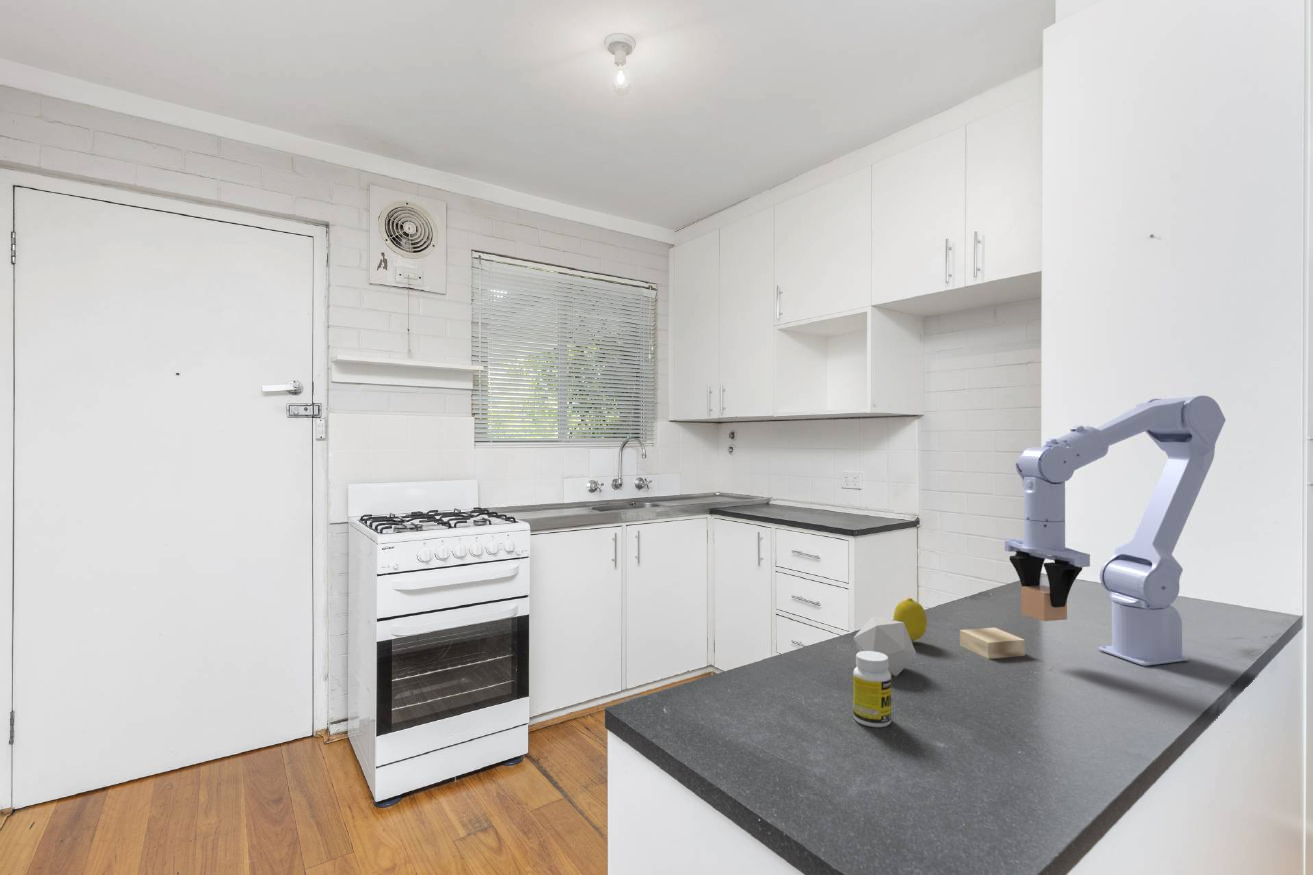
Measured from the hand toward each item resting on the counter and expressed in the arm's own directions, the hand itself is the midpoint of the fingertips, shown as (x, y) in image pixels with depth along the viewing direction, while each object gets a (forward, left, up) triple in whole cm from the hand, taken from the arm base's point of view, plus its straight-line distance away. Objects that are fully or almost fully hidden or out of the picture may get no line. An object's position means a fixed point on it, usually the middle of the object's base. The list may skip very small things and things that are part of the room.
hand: (1044, 602), depth 102 cm
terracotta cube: (0, 0, -2) cm, 2 cm away
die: (+28, -3, -10) cm, 29 cm away
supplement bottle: (+40, +12, -10) cm, 42 cm away
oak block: (+5, -6, -10) cm, 13 cm away
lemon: (+16, -13, -10) cm, 23 cm away
